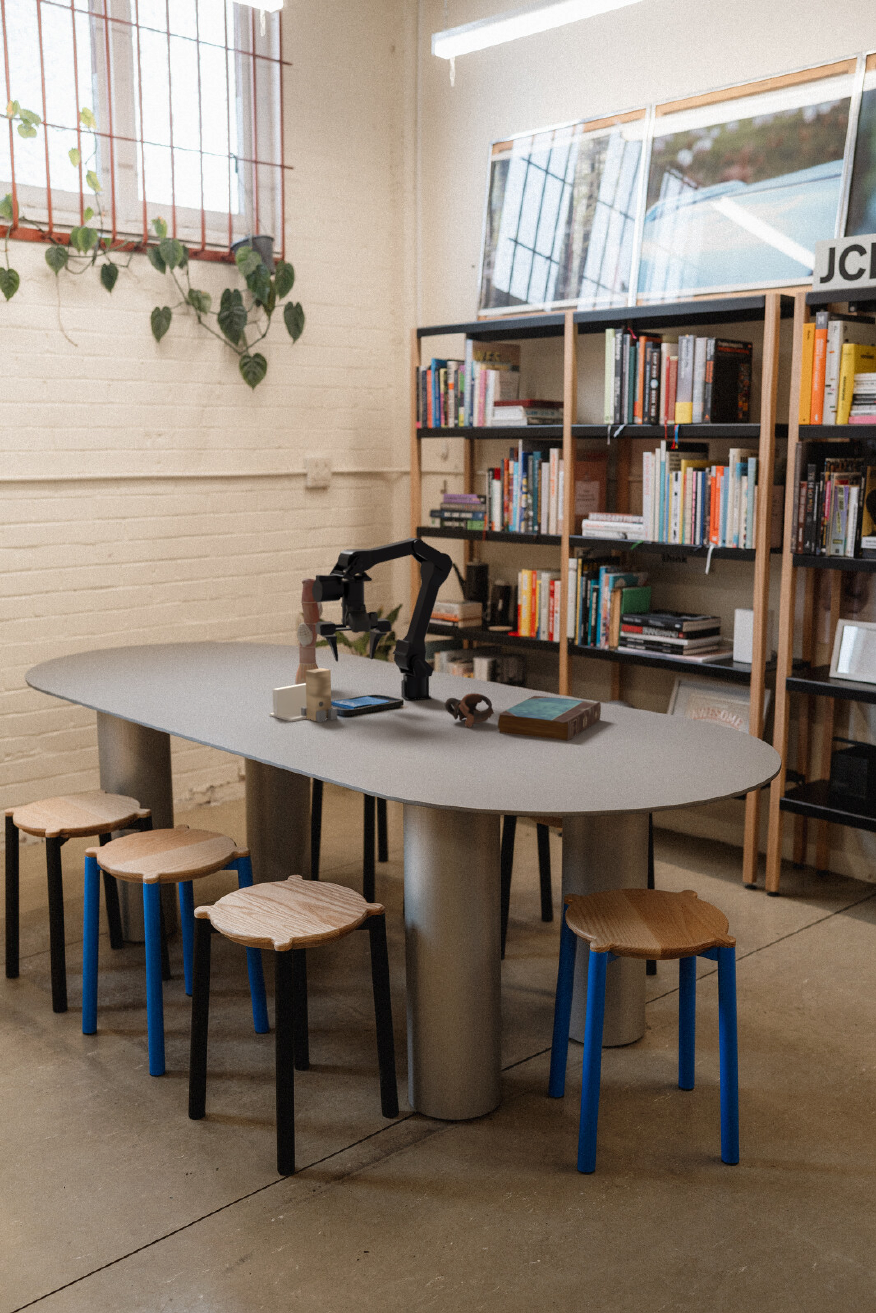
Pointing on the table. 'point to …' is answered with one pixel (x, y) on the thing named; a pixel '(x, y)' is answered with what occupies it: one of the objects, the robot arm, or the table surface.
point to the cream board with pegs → (295, 704)
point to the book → (549, 717)
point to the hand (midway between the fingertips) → (354, 660)
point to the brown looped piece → (469, 708)
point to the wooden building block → (318, 692)
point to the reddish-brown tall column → (308, 632)
